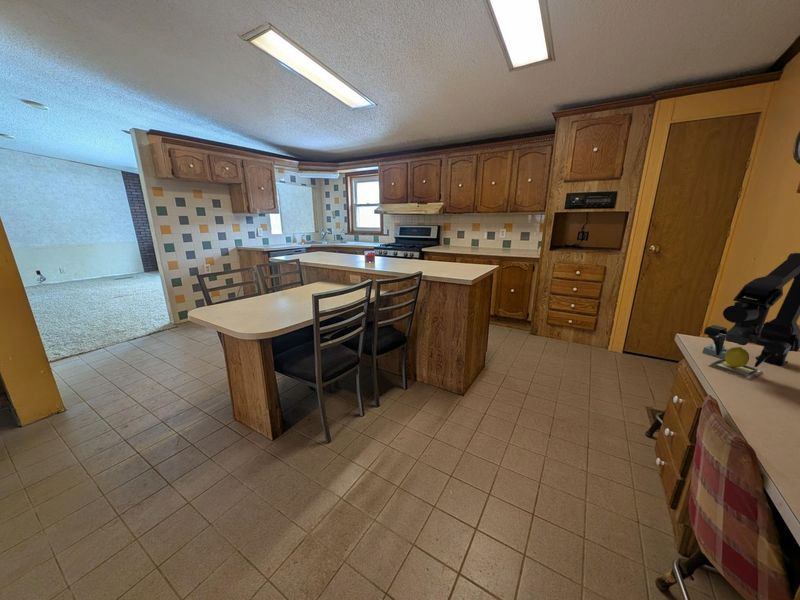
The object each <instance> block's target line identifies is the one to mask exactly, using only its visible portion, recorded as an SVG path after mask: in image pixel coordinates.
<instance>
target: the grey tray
mask: <svg viewBox="0 0 800 600" xmlns="http://www.w3.org/2000/svg"><path fill="white" fill-rule="evenodd" d="M708 367H710V368H713V369H716V370H719V371H721V372H724V373H726V374H731V375H733V376H736V377H739V378H742V379H745V380H748V381H750V380H752V379H753V378H756V377H757V376H759V375H762V374H763V373H764V371H762V370H759V369H758V368H756V367H752V366H749V365H747V364H746V365H745V366H742V367H736V368H732V367H731V366H730V365H729V364H727V363H726V361H725V359H721V358H719V359H718V360H716V361H714V362H711V364H709V365H708Z"/></svg>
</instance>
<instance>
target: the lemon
mask: <svg viewBox="0 0 800 600" xmlns="http://www.w3.org/2000/svg"><path fill="white" fill-rule="evenodd" d="M749 360H750V354H749V352H748V351H747V350H746V349H744V348H743V347H741V346H738V347H731V348H729V350H728V351H727V352H726V354H725V361H726V363H727V364H729V365H730V366H731V367H732V368H736V367H742V366H745V365H746V366H747V364H748V363H749Z"/></svg>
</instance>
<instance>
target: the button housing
mask: <svg viewBox="0 0 800 600" xmlns="http://www.w3.org/2000/svg"><path fill="white" fill-rule="evenodd" d="M713 345H714V344H709V345H707V346H704V347H703V350H702V354H705V355H708V356H711V357H715V358H718V359H725V354H726V352H727V351H728V350H729V349H730V348H729V349H728V348H726V347H725V348H724V351H723V352H721V353H720V355H719V356H718V355H717V353H716V350H715V349H712V348H713Z"/></svg>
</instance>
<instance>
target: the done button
mask: <svg viewBox="0 0 800 600" xmlns="http://www.w3.org/2000/svg"><path fill="white" fill-rule="evenodd" d="M712 345H713V348H712V349H715V350H716V348H715V344H714V343H713V344H712ZM724 348H725V349H726V345H724V344H723V348H722V351H721V352H723V351H724Z"/></svg>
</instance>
